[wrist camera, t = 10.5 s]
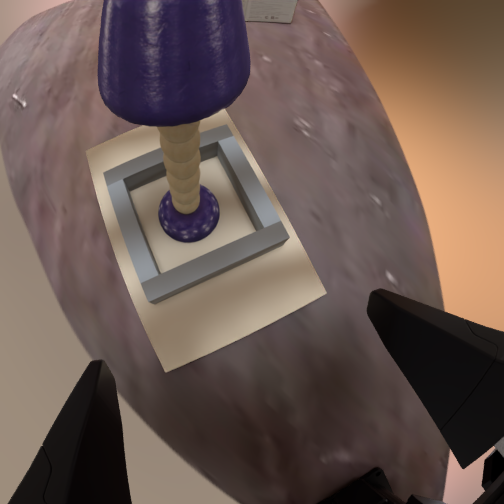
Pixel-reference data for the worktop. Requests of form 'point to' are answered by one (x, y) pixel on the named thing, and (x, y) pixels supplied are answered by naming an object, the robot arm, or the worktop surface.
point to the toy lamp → (175, 88)
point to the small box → (269, 10)
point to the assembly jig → (200, 244)
